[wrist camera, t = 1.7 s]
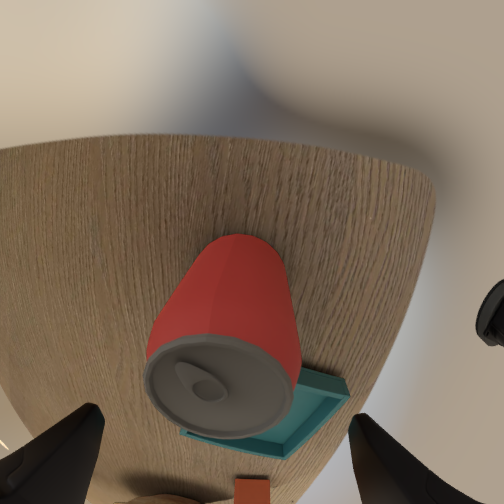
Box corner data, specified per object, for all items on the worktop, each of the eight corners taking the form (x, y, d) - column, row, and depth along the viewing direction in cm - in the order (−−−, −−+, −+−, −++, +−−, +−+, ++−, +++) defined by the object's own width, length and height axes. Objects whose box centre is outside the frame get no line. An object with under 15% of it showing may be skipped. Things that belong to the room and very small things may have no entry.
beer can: (247, 212, 19) (224, 283, 8) (303, 283, 20) (340, 407, 9) (177, 267, 20) (99, 372, 9) (234, 329, 22) (212, 459, 10)
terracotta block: (269, 479, 31) (270, 506, 26) (266, 490, 32) (266, 515, 28) (235, 478, 31) (233, 505, 26) (234, 489, 32) (233, 514, 28)
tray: (344, 378, 24) (350, 396, 21) (284, 444, 27) (285, 460, 25) (222, 339, 22) (219, 358, 20) (183, 417, 26) (179, 434, 24)
